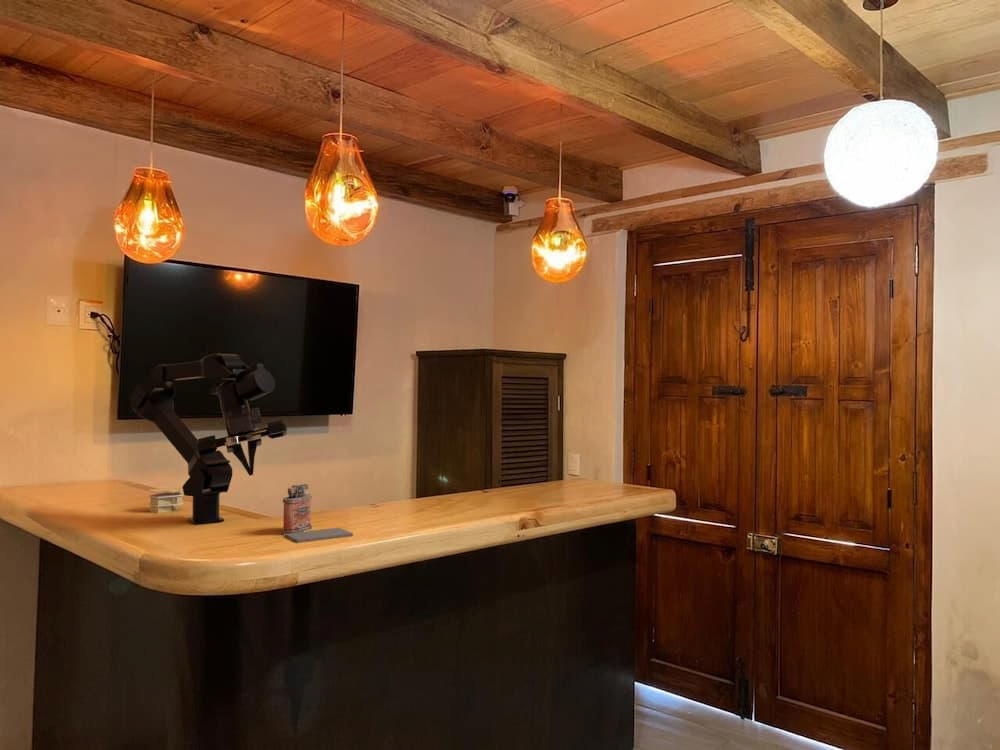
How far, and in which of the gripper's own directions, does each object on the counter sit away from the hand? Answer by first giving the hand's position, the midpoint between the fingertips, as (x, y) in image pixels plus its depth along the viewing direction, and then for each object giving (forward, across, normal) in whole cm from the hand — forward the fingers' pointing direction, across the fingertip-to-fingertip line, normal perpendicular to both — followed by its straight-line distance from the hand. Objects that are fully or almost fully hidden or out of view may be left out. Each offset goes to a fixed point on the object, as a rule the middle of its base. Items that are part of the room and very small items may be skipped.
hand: (251, 475), depth 164 cm
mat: (+17, +10, -9) cm, 22 cm away
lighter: (+15, +6, -3) cm, 16 cm away
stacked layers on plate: (0, -20, +29) cm, 35 cm away
